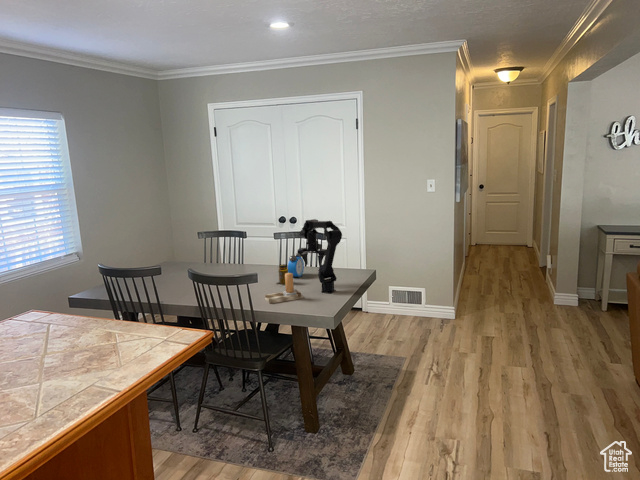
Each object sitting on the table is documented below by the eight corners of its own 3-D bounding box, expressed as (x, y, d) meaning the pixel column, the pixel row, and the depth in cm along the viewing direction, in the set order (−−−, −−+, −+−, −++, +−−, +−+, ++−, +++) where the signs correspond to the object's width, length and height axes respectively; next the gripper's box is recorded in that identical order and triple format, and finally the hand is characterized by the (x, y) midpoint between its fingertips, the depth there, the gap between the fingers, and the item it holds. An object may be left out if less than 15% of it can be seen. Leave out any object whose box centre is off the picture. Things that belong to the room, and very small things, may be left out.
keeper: (293, 293, 268) (292, 272, 266) (296, 295, 263) (295, 274, 261) (283, 294, 266) (282, 273, 264) (286, 297, 261) (285, 275, 259)
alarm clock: (296, 279, 304) (295, 256, 302) (287, 278, 307) (286, 256, 304) (304, 274, 316) (303, 252, 313) (296, 273, 318) (295, 252, 316)
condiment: (291, 283, 295) (290, 265, 293) (279, 286, 290) (278, 267, 288) (285, 281, 301) (284, 263, 299) (274, 283, 296) (273, 265, 294)
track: (297, 294, 271) (297, 289, 270) (302, 298, 263) (302, 293, 262) (265, 299, 264) (264, 294, 264) (269, 303, 256) (268, 298, 255)
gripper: (331, 238, 284) (333, 263, 287) (305, 237, 293) (306, 261, 296) (323, 241, 274) (324, 267, 277) (296, 240, 283) (297, 265, 286)
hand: (313, 265), depth 284 cm, fingers open, 9 cm apart
